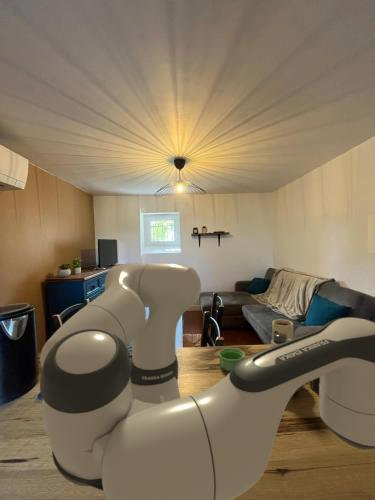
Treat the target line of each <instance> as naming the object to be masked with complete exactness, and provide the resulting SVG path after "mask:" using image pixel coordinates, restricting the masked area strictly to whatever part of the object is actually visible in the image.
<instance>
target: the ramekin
mask: <svg viewBox="0 0 375 500" xmlns="http://www.w3.org/2000/svg"><path fill="white" fill-rule="evenodd" d="M245 356H246V353H245V351H242V350H241V349H239V348H236V347H234V348H233V347H225V348H222V349H220V350H219V351H218V357H219V365H220V367H221V368H222V369H223V370H225V371H227V372H231V371H232V369H233V368H234V366H235V365H236V364H237V363H238V362H239V361H241V360H242V359H244V358H246V357H245Z"/></svg>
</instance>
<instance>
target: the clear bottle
mask: <svg viewBox="0 0 375 500" xmlns="http://www.w3.org/2000/svg"><path fill="white" fill-rule="evenodd" d="M272 335H273V336H272V339H271V340H270V348H271V347H273V346H276V345H279V344H281V343H284V342H287V340H286V335H285V334H283V333H274V334H273V333H272Z"/></svg>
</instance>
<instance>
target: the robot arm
mask: <svg viewBox="0 0 375 500" xmlns="http://www.w3.org/2000/svg"><path fill="white" fill-rule="evenodd" d="M201 283H202V282H201V279H200V276H199V274H198V272H197V271H196V270H195V268H193V267H191V266H187V265H185V264H184V265H183V264H179V263H167V262H166V263H165V262H163V263H160V262H158V263H157V262H151V263H150V262H128V263H123V264H117V265H115V266H114V265H113V266H112V267H111V268H110V269H109V270H108V272H107V274H106V275H105V279H104V291H103V292H102V293H101V294H99V295H98V296H97V297H95V299H93V300H91V301H90V302H89V303H87V304H86V305H85V306H84V307H82V308H81V309H79V310H78V311H77V312H76V313H74V315H72V316H71V317H70V318H68V319H67V320H66V321H65V322H64V323H63V324H62V325H60V327H59V328H58V329H57V330H56V331H55V332H54V333H53V334H52V335H51V337H50V338H49V339H47V341H46V342H45V344H44V345H43V347H42V349H41V352H40V356H39V357H40V359H39V361H40V366H41V374H40V378H39V379H40V380H39V390H40V391H39V392H40V396H41V397H42V404H41V406H42V407H41V408H42V419H43V426H44V430H45V431H44V432H45V434H46V436H47V438H48V441H49V444H50V448H51V450H52V452H51V453H52V460H53V462H54V465H55V466H56V469H57V471H58V472H59V473H60V475H61V476H62V478H65V479H66V480H67V481H69V482H70V483H72V484H74V485H78V486H82V487H91V488H95V489H97V490H100V491H103V494H104V496H105V497H104V498H105V499H106V500H235V499H236V498H239V497H240V496H241V495H243V494H244V493H246V492H247V491H248V490H250V489H251V488H252V487H254V486H255V485H256V484H257V483H258V482H259V481H260V479H262V477H263V475H264V473H265V471H266V469H267V466H268V463H269V461H270V458H271V455H272V451H273V446H274V442H275V439H276V436H277V432H278V429H279V425H280V423H281V420H282V417H283V415H284V412H285V409H286V408H287V406H288V403H289V402H290V400H291V398H292V397H293V395H294V394H295V393H296V392H295V391H296V390H297V389H298V388H299V387H300V386H302V385H303V384H304V385H305V384H308V383H310V381H312V380H314V379H316V378H319V377H320V384H319V391H318V415H319V417H320V419H321V421H322V422H323V424H324V425H325V427H326V428H327V429H328V430H329V431H330V432H331V433H332V434H333V435H335V436H336V437H337V438H338V439H340V440H341V441H342V442H344V443H346V444H348V445H350V446H351V447H353V448H356V449H358V450H365V451H369V450H375V321H373V320H370V319H368V318H367V319H366V318H360V317H352V316H351V317H347V316H346V317H339V318H336V319H333V320H331V321H329V322H327V323H326V324H324V325H323V326H322V327H319V328H318V329H316V330H313V331H312V332H309V333H306V334H303V335H300V336H298V337H295V338H294V337H293V338H291V339H287V342H284V343H281V344H279V345H276V346H273V347H271V346H270V347H269V348H268V347H267V348H266V349H263V350H261V351H258V352H255V353H253V354H251V355H249V356H246V357H245V358H244V359H242V360H241V361H239V362H238V363H237V364H236V365H235V366H234V368H233V369H232V371H229V373H228V374H227V375H226V376H225V377H224V378H222V379H221V380H220V381H218V382H217V383H216V384H214V385H212V386H210V387H209V388H207V389H206V390H203V391H201V392H198V393H194V394H191V395H187V396H183V397H181V395H180V394H181V393H180V389H179V388H180V387H179V383H178V380H179V361H178V357H177V354H176V336H177V327H178V323H179V321H180V319H181V317H182V316H183V314H184V313H185V312H186V311H187V310H188V309H189V308H191V307H192V306H193V305H194V304H196V302H197V301H198V299H199V297H200V294H201V292H202V291H201V290H202V289H201V288H202V284H201ZM146 308H148V317H147V312H146ZM130 343H131V353H132V354H131V355H132V358H131V356H130V353H129V350H128V346H129V344H130Z"/></svg>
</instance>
